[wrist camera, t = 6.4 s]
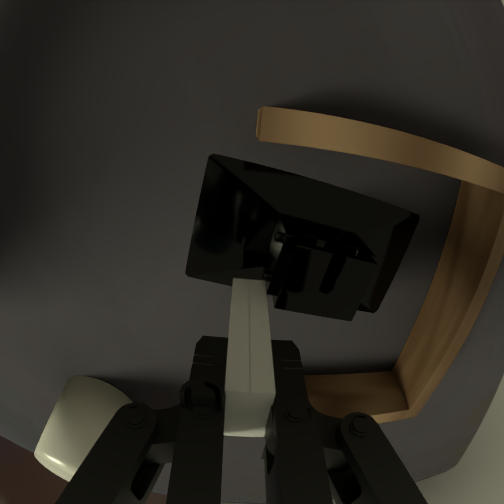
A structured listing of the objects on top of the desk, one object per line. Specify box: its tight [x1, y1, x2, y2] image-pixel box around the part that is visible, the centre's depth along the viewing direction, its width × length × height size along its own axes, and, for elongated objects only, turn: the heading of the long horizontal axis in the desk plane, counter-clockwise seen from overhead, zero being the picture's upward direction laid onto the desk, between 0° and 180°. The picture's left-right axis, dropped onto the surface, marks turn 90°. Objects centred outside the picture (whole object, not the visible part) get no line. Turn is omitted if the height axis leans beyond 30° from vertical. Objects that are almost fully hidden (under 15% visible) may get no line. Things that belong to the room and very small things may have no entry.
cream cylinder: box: [34, 376, 133, 482], centre depth 18 cm, size 7×7×8 cm
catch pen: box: [256, 106, 504, 423], centre depth 15 cm, size 13×17×4 cm
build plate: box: [185, 154, 419, 321], centre depth 14 cm, size 12×7×5 cm, turn 76°
